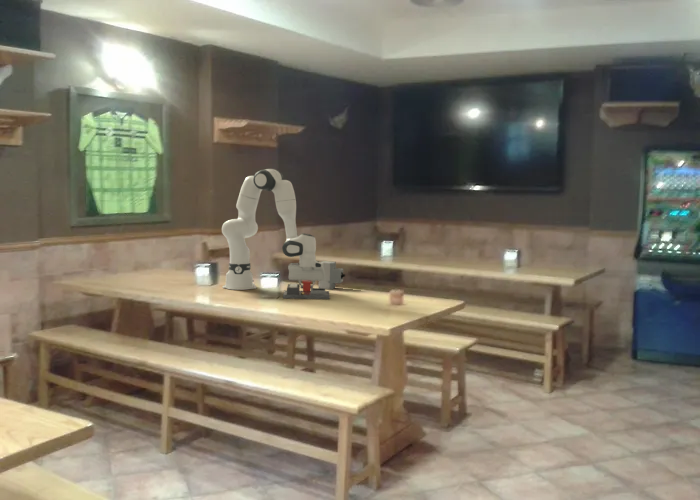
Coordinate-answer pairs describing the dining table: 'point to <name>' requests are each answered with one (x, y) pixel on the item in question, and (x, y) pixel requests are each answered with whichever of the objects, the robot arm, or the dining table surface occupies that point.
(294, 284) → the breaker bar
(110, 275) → the dining table surface
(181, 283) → the dining table surface
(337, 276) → the circuit breaker
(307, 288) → the lockout cap
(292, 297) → the breaker panel
